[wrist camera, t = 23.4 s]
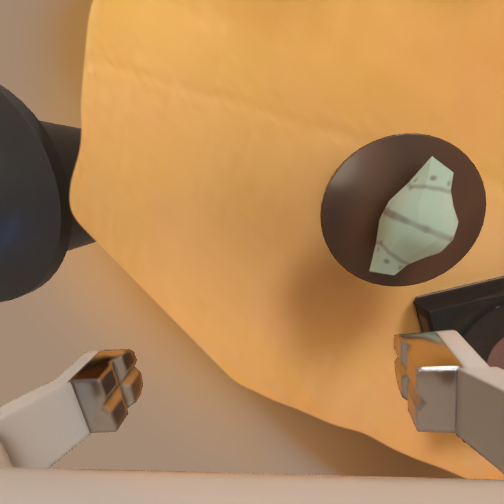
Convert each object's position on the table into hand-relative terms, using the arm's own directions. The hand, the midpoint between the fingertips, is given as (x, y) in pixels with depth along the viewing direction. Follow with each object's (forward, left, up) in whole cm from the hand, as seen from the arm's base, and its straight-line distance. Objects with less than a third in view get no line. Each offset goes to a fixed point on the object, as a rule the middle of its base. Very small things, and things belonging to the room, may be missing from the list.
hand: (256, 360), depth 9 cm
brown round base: (+8, +1, -27) cm, 29 cm away
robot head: (+8, +1, -18) cm, 20 cm away
